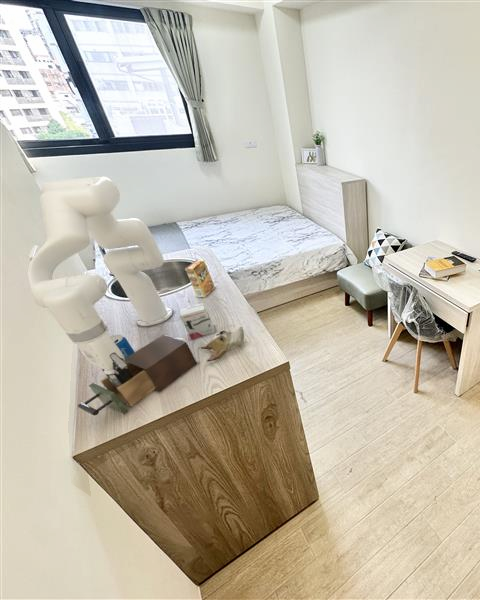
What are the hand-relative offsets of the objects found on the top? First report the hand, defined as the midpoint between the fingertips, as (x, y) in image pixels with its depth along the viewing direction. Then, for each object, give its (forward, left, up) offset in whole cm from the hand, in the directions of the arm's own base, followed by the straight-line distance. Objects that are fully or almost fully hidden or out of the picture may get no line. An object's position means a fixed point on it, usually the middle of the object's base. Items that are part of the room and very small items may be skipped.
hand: (120, 377), depth 95 cm
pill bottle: (0, 0, -2) cm, 2 cm away
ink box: (-7, +31, -9) cm, 33 cm away
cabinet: (0, +11, -9) cm, 14 cm away
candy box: (-32, +54, -9) cm, 64 cm away
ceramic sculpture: (+10, +27, -9) cm, 30 cm away
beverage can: (-15, +8, -9) cm, 20 cm away
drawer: (0, -2, -8) cm, 8 cm away
